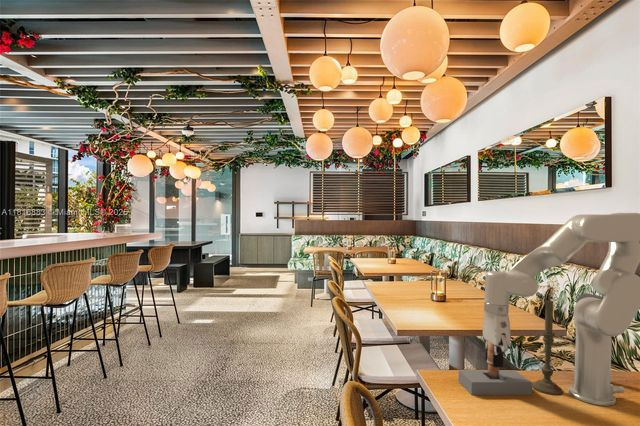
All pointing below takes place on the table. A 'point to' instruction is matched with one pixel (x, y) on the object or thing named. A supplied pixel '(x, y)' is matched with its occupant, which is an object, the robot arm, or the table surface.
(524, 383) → the seat board
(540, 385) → the candlestick holder
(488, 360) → the dowel
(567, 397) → the table surface
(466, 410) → the table surface
